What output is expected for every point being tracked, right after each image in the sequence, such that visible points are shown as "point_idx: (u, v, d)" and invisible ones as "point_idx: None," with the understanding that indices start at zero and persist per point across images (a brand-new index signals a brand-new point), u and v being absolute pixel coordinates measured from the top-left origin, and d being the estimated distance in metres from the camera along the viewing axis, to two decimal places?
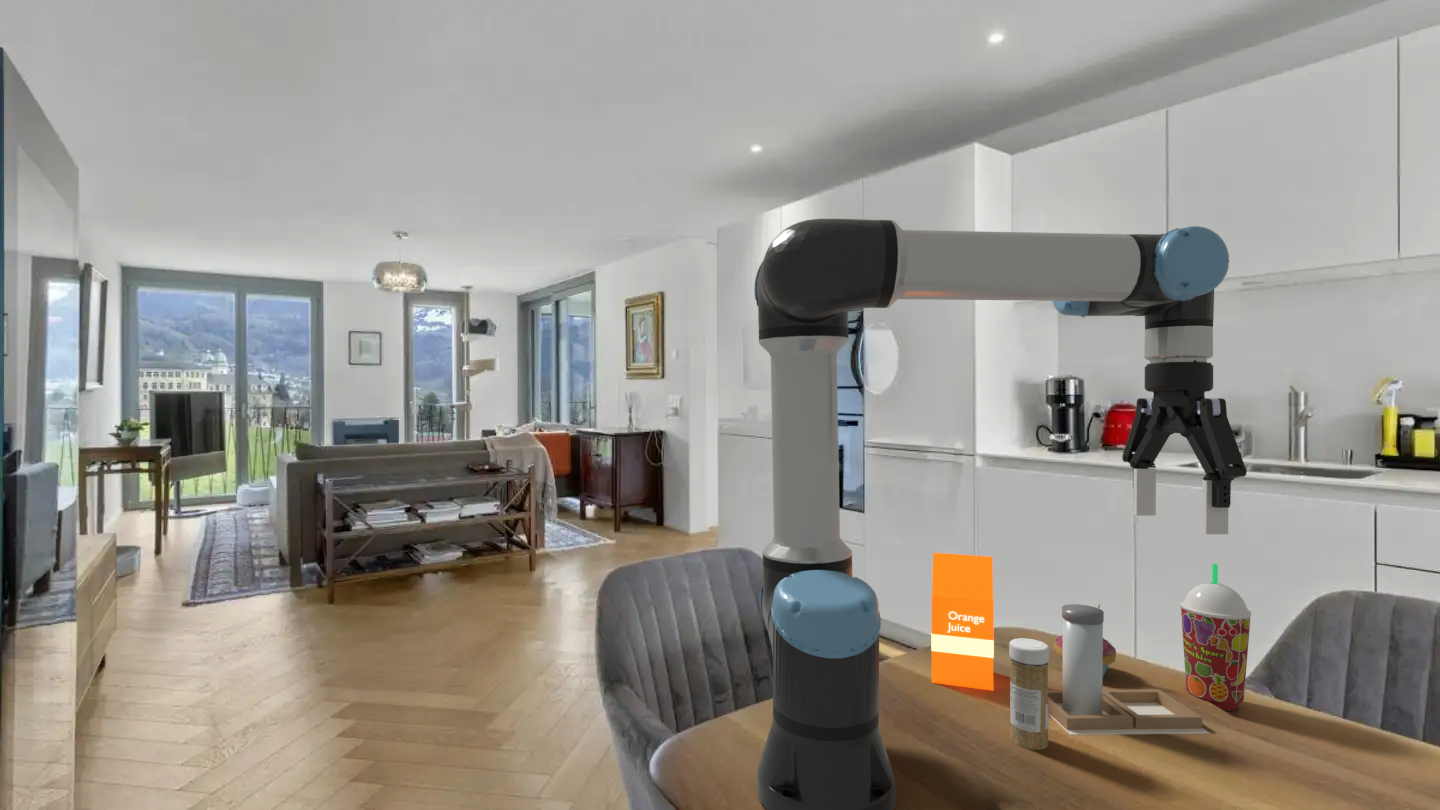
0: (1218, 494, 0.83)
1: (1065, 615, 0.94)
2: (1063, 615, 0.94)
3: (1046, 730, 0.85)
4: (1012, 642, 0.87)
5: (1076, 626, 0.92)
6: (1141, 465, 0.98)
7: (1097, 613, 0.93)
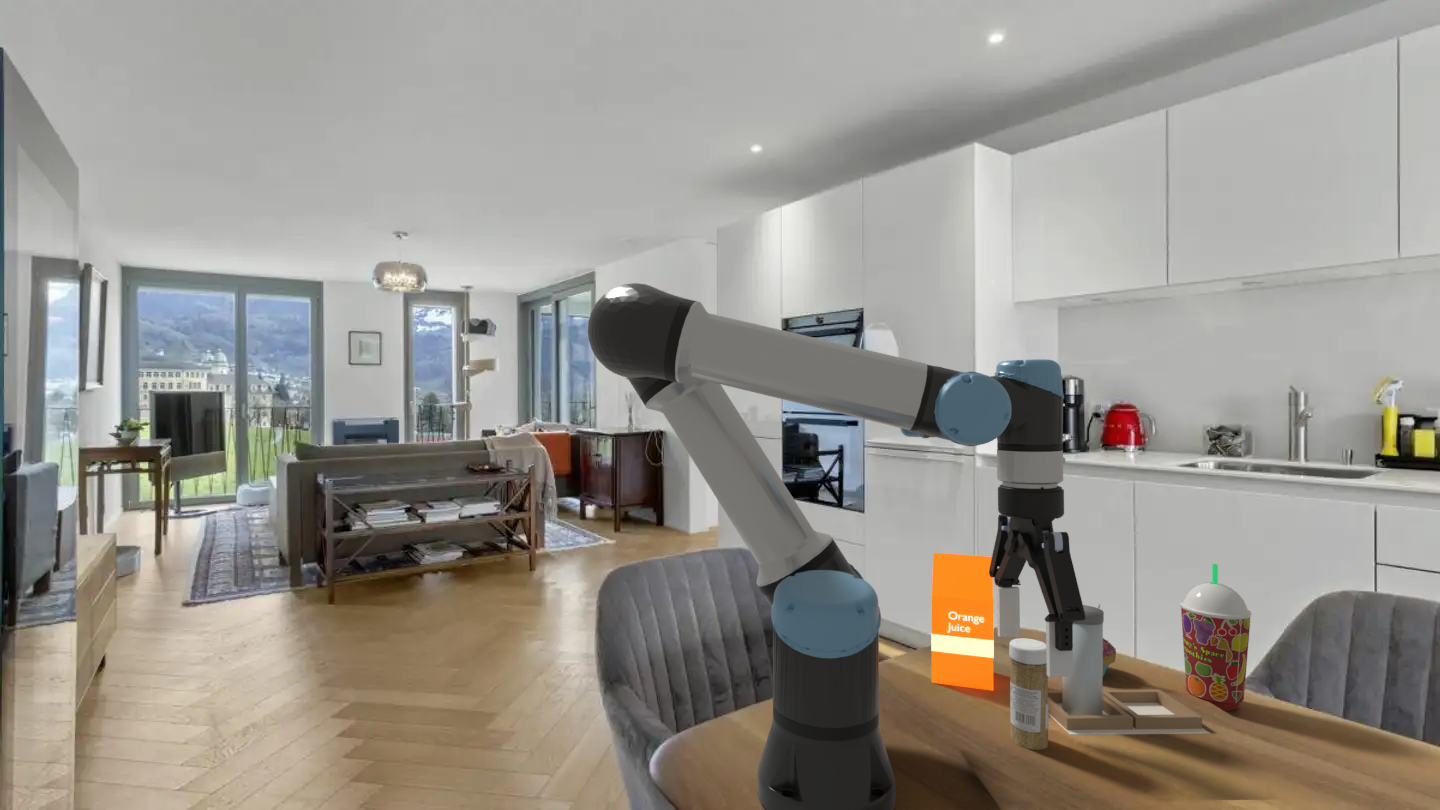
0: (1059, 637, 0.79)
1: None
2: None
3: (1046, 730, 0.85)
4: (1012, 642, 0.87)
5: (1076, 626, 0.92)
6: (1005, 583, 0.94)
7: (1097, 613, 0.93)
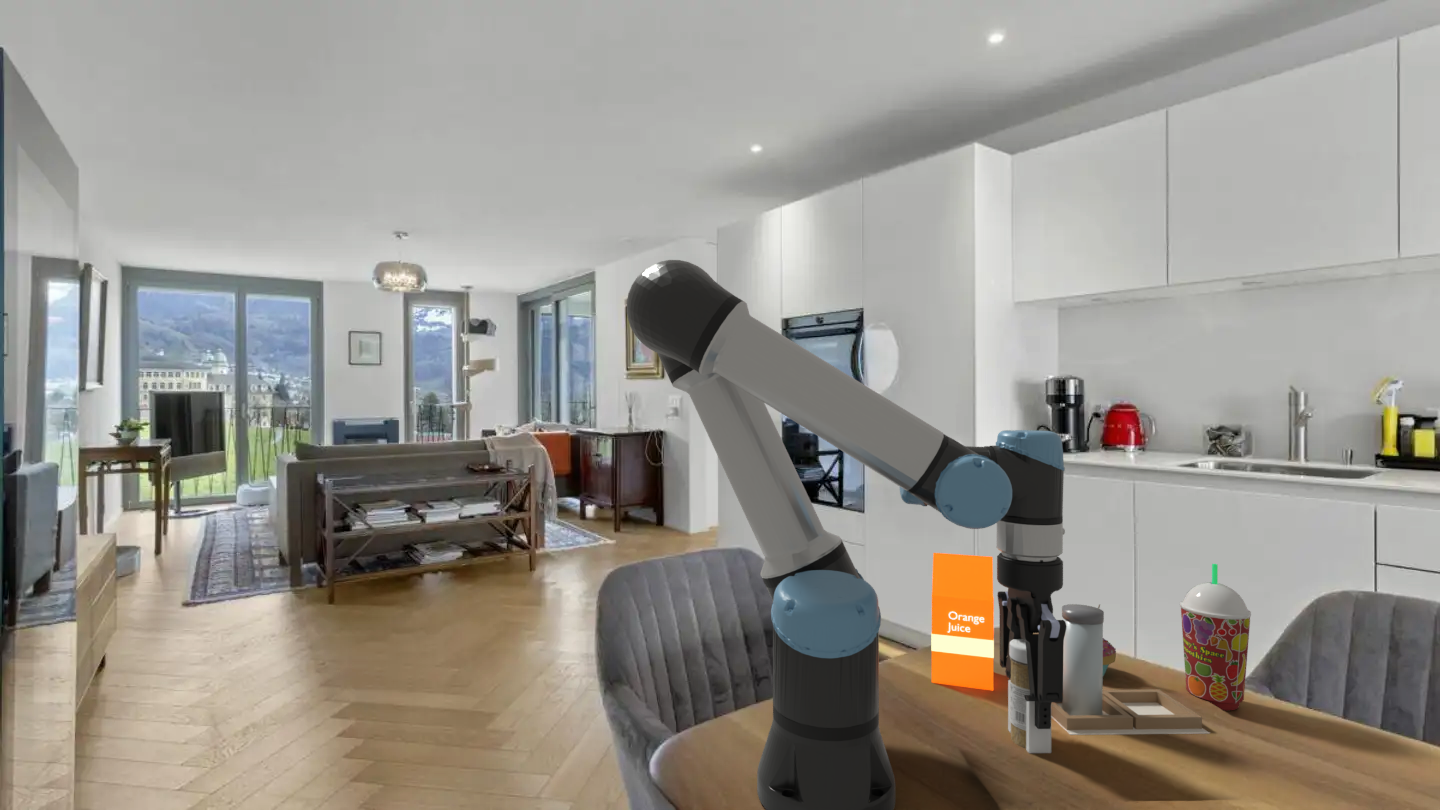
0: (1038, 716, 0.83)
1: (1065, 615, 0.94)
2: (1063, 615, 0.94)
3: None
4: (1012, 642, 0.87)
5: (1076, 626, 0.92)
6: None
7: (1097, 613, 0.93)
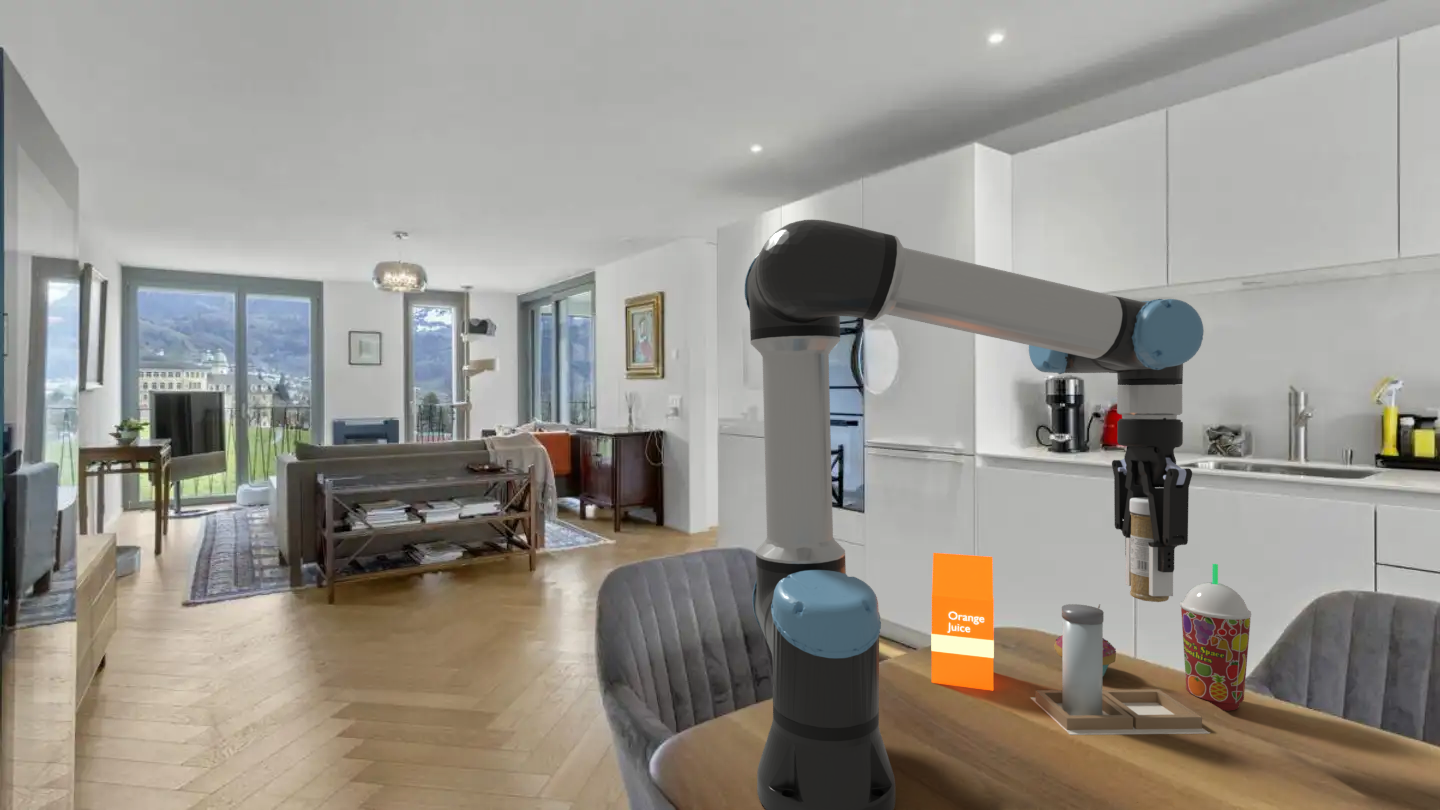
0: (1163, 560, 0.90)
1: (1065, 615, 0.94)
2: (1063, 615, 0.94)
3: None
4: (1133, 499, 0.95)
5: (1076, 626, 0.92)
6: None
7: (1097, 613, 0.93)
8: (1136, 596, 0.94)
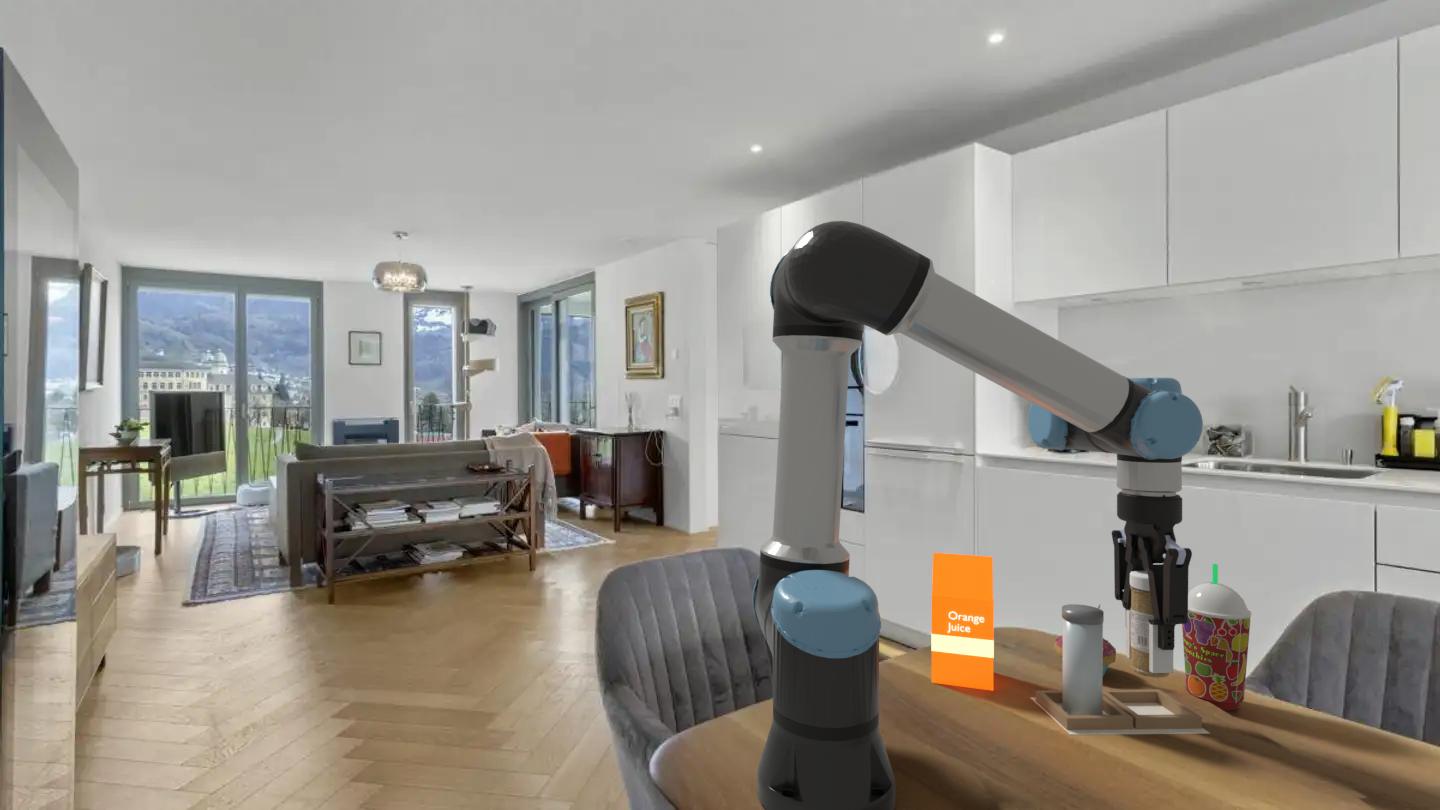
0: (1163, 638, 0.90)
1: (1065, 615, 0.94)
2: (1063, 615, 0.94)
3: None
4: (1133, 573, 0.95)
5: (1076, 626, 0.92)
6: None
7: (1097, 613, 0.93)
8: (1136, 671, 0.94)
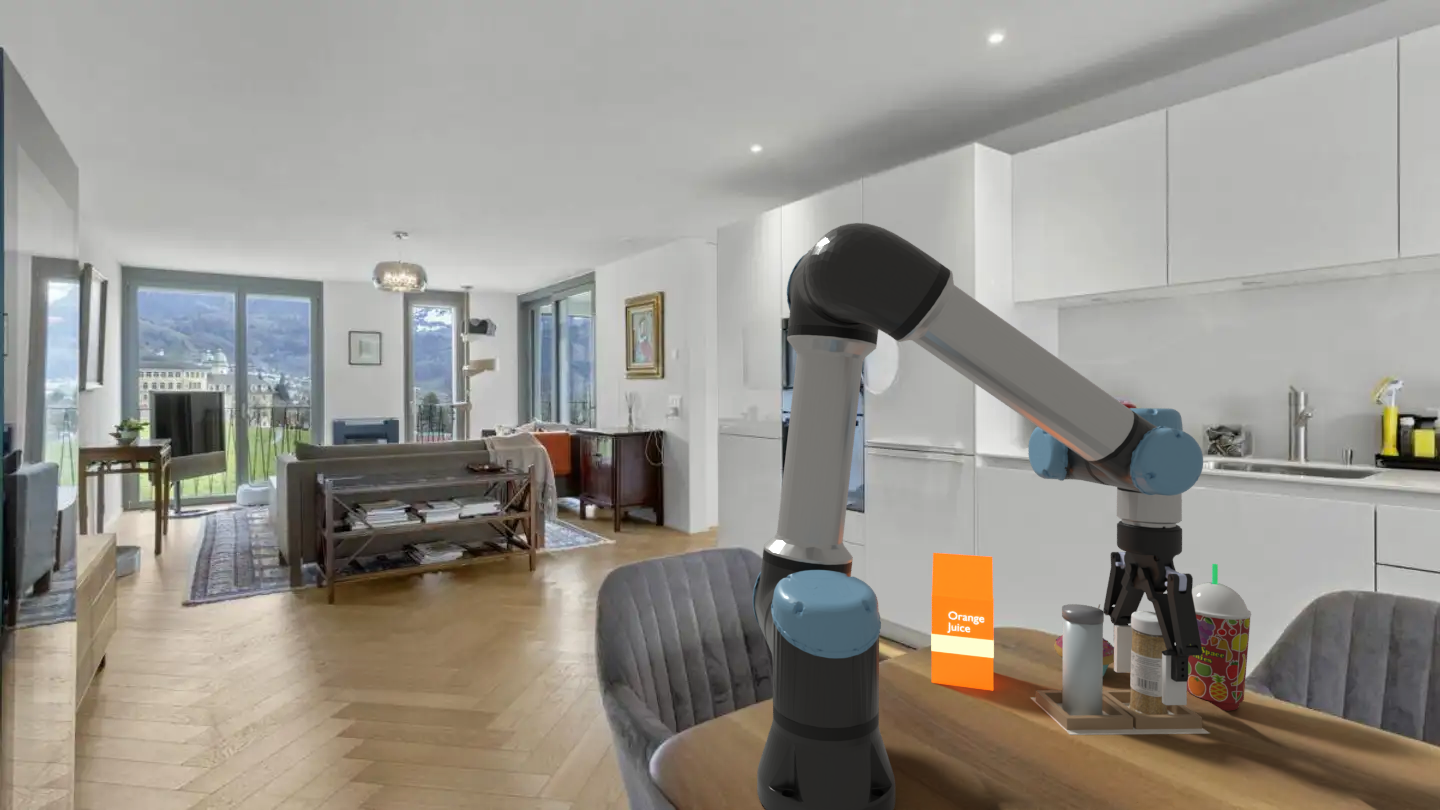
0: (1176, 669, 0.88)
1: (1065, 615, 0.94)
2: (1063, 615, 0.94)
3: None
4: (1134, 614, 0.94)
5: (1076, 626, 0.92)
6: (1121, 621, 1.00)
7: (1097, 613, 0.93)
8: (1135, 712, 0.94)
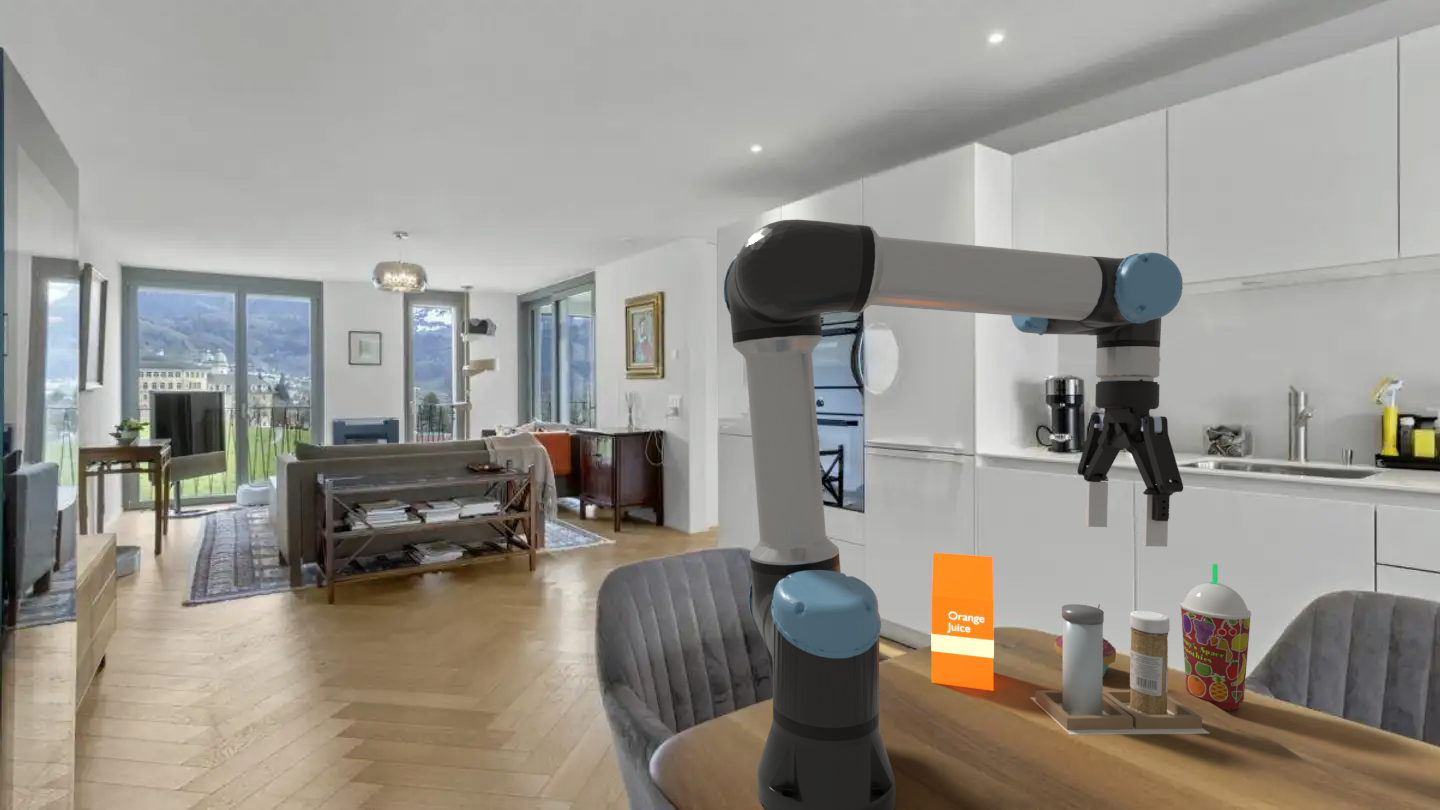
0: (1157, 508, 0.87)
1: (1065, 615, 0.94)
2: (1063, 615, 0.94)
3: (1166, 694, 0.93)
4: (1133, 613, 0.95)
5: (1076, 626, 0.92)
6: (1094, 478, 1.02)
7: (1097, 613, 0.93)
8: (1135, 712, 0.94)
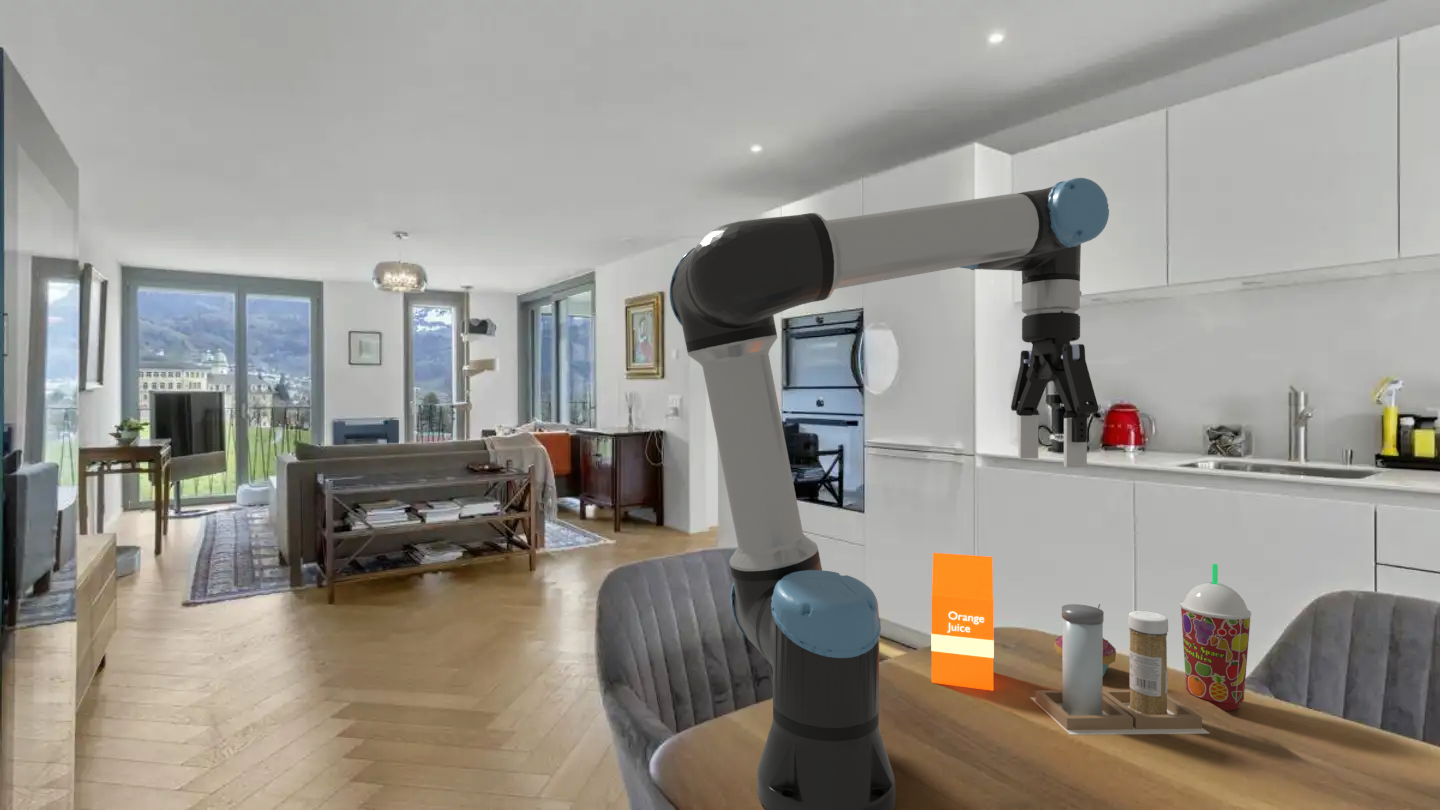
0: (1076, 430, 0.92)
1: (1065, 615, 0.94)
2: (1063, 615, 0.94)
3: (1166, 694, 0.93)
4: (1132, 614, 0.95)
5: (1076, 626, 0.92)
6: (1025, 412, 1.07)
7: (1097, 613, 0.93)
8: None
